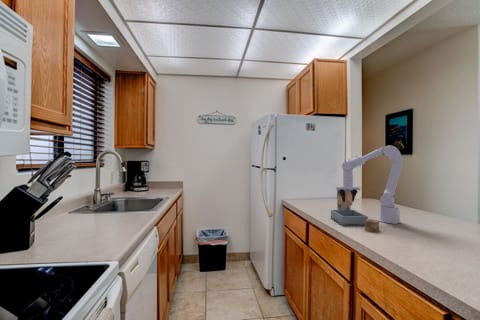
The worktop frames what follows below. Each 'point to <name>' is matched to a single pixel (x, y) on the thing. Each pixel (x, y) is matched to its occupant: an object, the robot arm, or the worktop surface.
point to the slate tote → (348, 217)
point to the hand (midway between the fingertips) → (348, 201)
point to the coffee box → (340, 203)
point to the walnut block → (371, 225)
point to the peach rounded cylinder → (348, 199)
